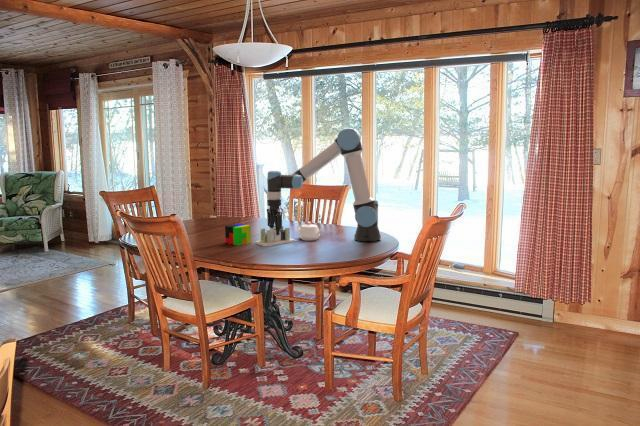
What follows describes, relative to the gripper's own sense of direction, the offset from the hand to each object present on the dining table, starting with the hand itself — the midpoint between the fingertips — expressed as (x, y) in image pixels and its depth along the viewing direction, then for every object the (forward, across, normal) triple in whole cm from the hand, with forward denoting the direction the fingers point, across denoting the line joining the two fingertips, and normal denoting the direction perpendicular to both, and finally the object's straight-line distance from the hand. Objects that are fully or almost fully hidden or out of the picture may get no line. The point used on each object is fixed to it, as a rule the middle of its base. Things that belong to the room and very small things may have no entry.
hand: (274, 239), depth 294 cm
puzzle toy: (+2, +12, +17) cm, 21 cm away
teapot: (+2, -4, -21) cm, 22 cm away
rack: (+2, 0, 0) cm, 2 cm away
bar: (0, 0, 0) cm, 0 cm away
